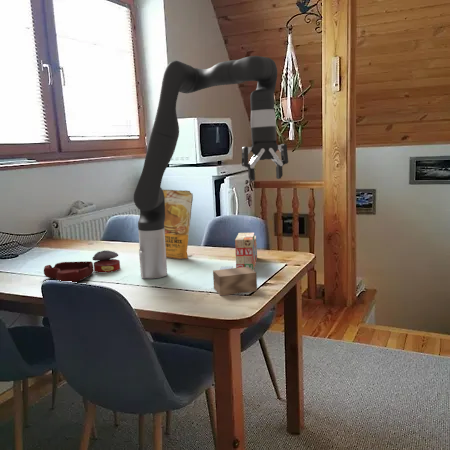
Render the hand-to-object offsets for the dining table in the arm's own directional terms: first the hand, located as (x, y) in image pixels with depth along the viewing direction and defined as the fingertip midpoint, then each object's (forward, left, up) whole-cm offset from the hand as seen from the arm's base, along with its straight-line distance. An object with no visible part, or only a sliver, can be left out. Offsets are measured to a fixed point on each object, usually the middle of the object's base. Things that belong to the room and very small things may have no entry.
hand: (265, 179), depth 150 cm
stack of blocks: (+4, +33, -35) cm, 48 cm away
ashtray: (-60, +41, -35) cm, 81 cm away
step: (-10, +4, -35) cm, 36 cm away
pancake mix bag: (-20, +59, -35) cm, 71 cm away
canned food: (-48, +49, -35) cm, 77 cm away
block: (-12, +10, -33) cm, 36 cm away
